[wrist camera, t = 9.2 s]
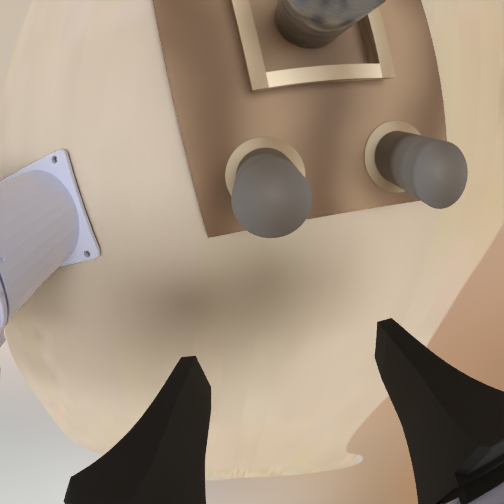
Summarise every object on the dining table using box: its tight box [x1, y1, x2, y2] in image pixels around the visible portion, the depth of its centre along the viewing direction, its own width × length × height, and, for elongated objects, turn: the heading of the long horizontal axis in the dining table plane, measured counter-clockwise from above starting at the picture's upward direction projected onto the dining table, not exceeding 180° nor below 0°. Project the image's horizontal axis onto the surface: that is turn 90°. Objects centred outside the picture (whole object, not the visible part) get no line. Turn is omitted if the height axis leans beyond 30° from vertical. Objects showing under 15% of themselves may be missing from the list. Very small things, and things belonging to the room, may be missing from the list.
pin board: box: [153, 0, 468, 238], centre depth 12 cm, size 16×16×6 cm
